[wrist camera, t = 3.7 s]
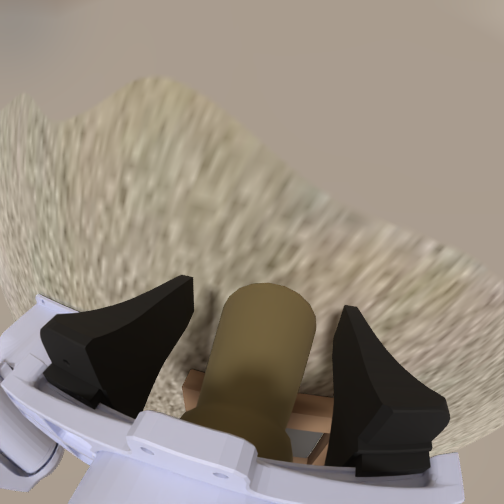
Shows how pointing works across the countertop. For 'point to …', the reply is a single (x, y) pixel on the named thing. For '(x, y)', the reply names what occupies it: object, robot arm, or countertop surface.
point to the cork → (257, 367)
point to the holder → (299, 425)
